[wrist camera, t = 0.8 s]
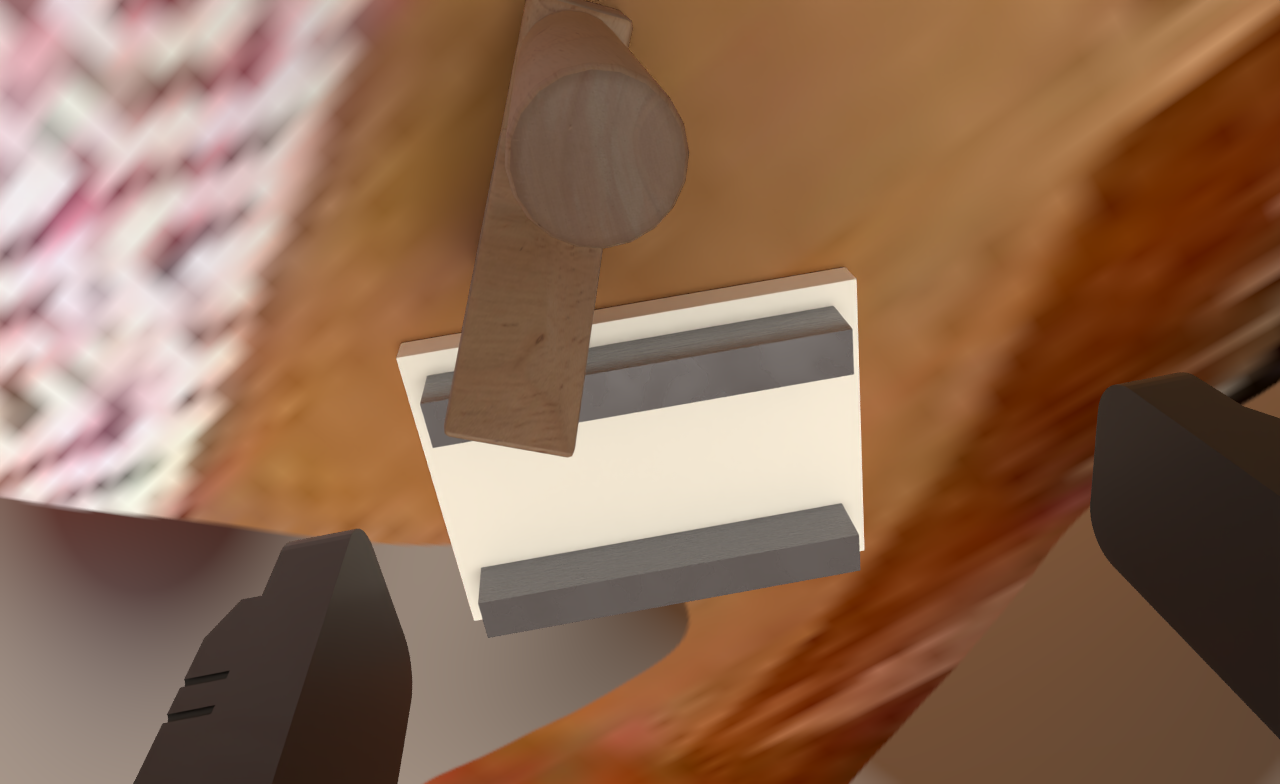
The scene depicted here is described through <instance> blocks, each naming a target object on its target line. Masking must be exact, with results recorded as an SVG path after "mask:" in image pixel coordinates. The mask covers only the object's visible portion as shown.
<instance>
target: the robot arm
mask: <svg viewBox="0 0 1280 784" xmlns="http://www.w3.org/2000/svg"><path fill="white" fill-rule="evenodd" d="M1090 513H1091V521H1092V526H1093V530H1094V533H1095V536H1096V539H1097V541H1098V544H1099V546H1100V548H1101V550H1102V551H1103V553H1104V555H1105V556H1106V558H1107V559H1108V560H1109V562H1110V563H1111V564H1112V565H1113V566H1114V567H1115V568H1116V569H1117V570H1118V572H1119V573H1121V575H1122V576H1123V577H1124V578H1125V579H1126V580H1127V581H1128V582H1129V583H1130V584H1131V585H1132V586H1133V587H1134V588H1135V589H1136V590H1137V591H1138V592H1139V593H1140V594H1141V595H1142V596H1143V597H1144V599H1145V600H1147V602H1148V603H1149V604H1150V605H1151V606H1152V607H1153V608H1154V609H1155V610H1156V611H1157V612H1158V613H1159V614H1160V615H1161V616H1162V617H1163V618H1164V619H1165V620H1166V621H1167V622H1168V623H1169V625H1170V626H1171V627H1172V628H1173V629H1174V630H1176V632H1177V633H1178V634H1179V635H1180V636H1181V637H1182V638H1183V639H1184V640H1185V641H1186V642H1187V643H1188V644H1189V645H1190V646H1191V647H1192V648H1193V649H1194V650H1195V652H1196V653H1197V654H1198V655H1199V656H1200V657H1201V658H1202V659H1203V660H1204V661H1205V662H1206V663H1207V664H1208V665H1209V666H1210V667H1211V668H1212V669H1213V670H1214V671H1215V672H1216V673H1217V674H1218V675H1219V677H1221V679H1222V680H1223V681H1224V682H1225V683H1226V684H1227V685H1228V686H1229V687H1230V688H1231V689H1232V690H1233V691H1234V692H1235V693H1236V694H1237V695H1238V696H1239V697H1240V698H1241V699H1242V700H1243V701H1244V703H1246V705H1247V706H1249V708H1250V709H1251V710H1252V711H1253V712H1254V713H1255V714H1256V715H1257V716H1258V717H1259V718H1260V719H1261V720H1262V721H1263V722H1264V723H1265V724H1266V725H1267V726H1268V727H1269V729H1270V730H1272V731H1273V733H1274V734H1275V735H1276V736H1277V737H1278V738H1279V739H1280V419H1279V418H1277V417H1274V416H1271V415H1268V414H1265V413H1262V412H1259V411H1256V410H1253V409H1250V408H1247V407H1244V406H1242V405H1241V404H1239V403H1237V402H1236V401H1234V400H1232V399H1231V398H1229V397H1228V396H1226V395H1224V394H1223V393H1221V392H1220V391H1218V390H1216V389H1215V388H1213V387H1212V386H1210V385H1208V384H1207V383H1205V382H1204V381H1202V380H1200V379H1199V378H1197V377H1195V376H1193V375H1191V374H1189V373H1174V374H1169V375H1164V376H1159V377H1153V378H1148V379H1143V380H1138V381H1133V382H1127V383H1122V384H1117V385H1113V386H1110V387H1109V388H1107V389H1106V391H1105V392H1104V393H1103V395H1102V397H1101V400H1100V403H1099V409H1098V419H1097V431H1096V443H1095V454H1094V466H1093V478H1092V490H1091V502H1090ZM184 680H185V687H181V688H180V689H179V691H178V694H177V695H176V697H175V699H174V701H173V704H172V706H171V708H170V710H169V712H168V714H167V715H168V723H163V724H162V726H161V728H160V730H159V732H158V734H157V736H156V738H155V740H154V743H153V744H152V747H151V749H150V751H149V753H148V755H147V757H146V759H145V761H144V763H143V765H142V767H141V769H140V771H139V773H138V775H137V777H136V779H135V781H134V783H133V784H397V782H398V777H399V771H400V765H401V759H402V753H403V747H404V741H405V735H406V729H407V723H408V717H409V711H410V704H411V698H412V671H411V662H410V656H409V651H408V646H407V642H406V640H405V636H404V633H403V630H402V628H401V625H400V622H399V619H398V617H397V614H396V611H395V608H394V605H393V603H392V600H391V597H390V594H389V592H388V589H387V586H386V583H385V580H384V577H383V575H382V572H381V569H380V566H379V564H378V561H377V558H376V555H375V552H374V549H373V547H372V544H371V542H370V540H369V538H368V536H367V535H366V534H365V532H364V531H363V530H361V529H354V530H348V531H343V532H338V533H333V534H328V535H322V536H317V537H312V538H307V539H302V540H297V541H292V542H288V543H286V545H285V546H284V547H283V549H282V550H281V553H280V555H279V557H278V560H277V562H276V564H275V567H274V569H273V571H272V573H271V576H270V578H269V580H268V583H267V585H266V587H265V590H264V592H263V594H262V596H258V597H253V598H248V599H243V600H241V601H240V602H239V603H238V604H237V605H236V606H235V607H234V608H233V609H232V610H231V611H230V612H229V613H228V614H227V615H226V616H225V617H224V618H223V619H222V620H221V621H220V623H219V624H218V625H217V626H216V627H215V628H214V629H213V630H212V631H211V632H210V633H209V634H208V635H207V636H206V637H205V638H204V640H203V642H202V644H201V646H200V648H199V650H198V652H197V654H196V656H195V658H194V660H193V663H192V665H191V667H190V669H189V671H188V673H187V675H186V677H185V679H184Z"/></svg>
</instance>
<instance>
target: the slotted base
mask: <svg viewBox="0 0 1280 784" xmlns="http://www.w3.org/2000/svg"><path fill="white" fill-rule="evenodd" d="M460 337H461V333H458V334H452V335H446V336H440V337H434V338H429V339H423V340H417V341H411V342H405V343H401V345H400V348H399V351H398V354H397V357H396V359H397V363H398V366H399V369H400V373H401V376H402V379H403V383H404V386H405V389H406V393H407V396H408V400H409V403H410V406H411V410H412V413H413V416H414V420H415V423H416V426H417V430H418V433H419V437H420V440H421V443H422V447H423V450H424V453H425V457H426V460H427V463H428V467H429V470H430V474H431V477H432V480H433V484H434V487H435V490H436V494H437V497H438V500H439V504H440V507H441V511H442V514H443V517H444V521H445V524H446V527H447V531H448V534H449V537H450V541H451V544H452V548H453V551H454V554H455V558H456V561H457V564H458V568H459V571H460V574H461V578H462V581H463V585H464V588H465V591H466V594H467V598H468V601H469V604H470V608H471V611H472V615H473V618H474V621H476V620H481V619H483V622H484V625H485V629H486V633H487V636H488V638H490V637H495V636H501V635H506V634H511V633H517V632H523V631H528V630H533V629H539V628H545V627H550V626H556V625H562V624H567V623H573V622H578V621H583V620H589V619H595V618H600V617H606V616H611V615H617V614H622V613H627V612H633V611H638V610H644V609H650V608H655V607H661V606H666V605H672V604H677V603H683V602H689V601H694V600H700V599H705V598H711V597H716V596H722V595H727V594H733V593H738V592H744V591H749V590H755V589H760V588H766V587H771V586H777V585H782V584H788V583H793V582H799V581H804V580H810V579H815V578H821V577H826V576H832V575H837V574H843V573H848V572H854V571H859V570H860V551H864V523H863V488H862V454H861V419H860V385H859V350H858V316H857V281H856V278H855V277H854V276H853V275H852V274H851V273H850V272H849V271H848V270H847V269H846V268H845V267H843V268H837V269H831V270H825V271H820V272H814V273H808V274H802V275H796V276H790V277H785V278H779V279H773V280H767V281H761V282H755V283H750V284H744V285H738V286H732V287H726V288H720V289H715V290H709V291H703V292H697V293H691V294H685V295H680V296H674V297H668V298H662V299H656V300H650V301H645V302H639V303H633V304H627V305H621V306H615V307H609V308H604V309H598V310H594V315H593V323H592V330H591V337H590V344H589V352H588V359H587V366H586V373H585V381H584V388H583V395H582V402H581V410H580V417H579V424H578V431H577V438H576V446H575V450H574V453H573V455H572V456H571V457H568V458H567V457H561V456H555V455H550V454H544V453H538V452H533V451H527V450H521V449H516V448H510V447H504V446H499V445H493V444H487V443H482V442H476V441H470V440H465V439H459V438H453V437H448V436H447V435H446V434H445V433H444V423H445V417H446V412H447V407H448V401H449V396H450V391H451V385H452V380H453V375H454V369H455V364H456V359H457V353H458V348H459V343H460Z"/></svg>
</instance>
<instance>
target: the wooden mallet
mask: <svg viewBox="0 0 1280 784" xmlns="http://www.w3.org/2000/svg"><path fill="white" fill-rule="evenodd" d="M632 30H633V25H632V21H631V20H630V19H629V18H628V17H627V16H625V15H624V14H623V13H622V12H621V11H619V10H617V9H613V8H609V7H606V6H602V5H599V4H595V3H592V2H588V1H585V0H526V2H525V8H524V13H523V18H522V23H521V28H520V33H519V39H518V44H517V49H516V54H515V59H514V64H513V70H512V75H511V80H510V85H509V90H508V95H507V101H506V106H505V111H504V116H503V121H502V126H501V132H500V136H499V141H498V146H497V151H496V156H495V161H494V166H493V172H492V177H491V182H490V187H489V192H488V197H487V203H486V208H485V213H484V218H483V223H482V228H481V234H480V239H479V244H478V249H477V254H476V259H475V265H474V270H473V275H472V280H471V285H470V290H469V296H468V301H467V306H466V311H465V316H464V321H463V327H462V332H461V337H460V343H459V348H458V353H457V359H456V364H455V369H454V375H453V380H452V385H451V391H450V396H449V401H448V407H447V412H446V417H445V423H444V433H445V434H446V435H447V436H448V437H453V438H459V439H465V440H470V441H476V442H482V443H487V444H493V445H499V446H504V447H510V448H516V449H521V450H527V451H533V452H538V453H544V454H550V455H555V456H561V457H567V458H568V457H571V456H572V455H573V453H574V450H575V446H576V438H577V431H578V424H579V417H580V410H581V402H582V395H583V388H584V381H585V373H586V366H587V359H588V352H589V344H590V337H591V330H592V323H593V315H594V308H595V301H596V294H597V286H598V279H599V272H600V265H601V258H602V250H603V248H608V247H612V246H617V245H621V244H625V243H629V242H632V241H634V240H635V239H637V238H639V237H640V236H642V235H644V234H645V233H647V232H649V231H650V230H652V229H654V228H655V227H656V226H657V225H658V224H659V223H660V222H661V220H662V219H663V218H664V217H665V216H666V215H667V214H668V213H669V212H670V210H671V209H672V208H673V207H674V205H675V203H676V201H677V198H678V196H679V194H680V192H681V190H682V188H683V185H684V183H685V181H686V173H687V165H688V157H689V149H688V144H687V138H686V133H685V128H684V123H683V121H682V119H681V118H680V116H679V114H678V112H677V110H676V108H675V107H674V105H673V103H672V101H671V99H670V97H669V96H668V95H667V94H666V93H665V92H664V90H663V89H662V88H661V87H660V86H659V85H658V83H657V82H656V81H655V80H654V79H653V77H652V76H651V75H650V74H649V73H648V72H647V70H646V69H645V68H644V67H643V66H642V65H641V63H640V62H639V61H638V60H637V59H636V58H635V56H634V55H633V54H632V53H631V52H630V51H629V49H628V47H629V43H630V39H631V35H632Z"/></svg>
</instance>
